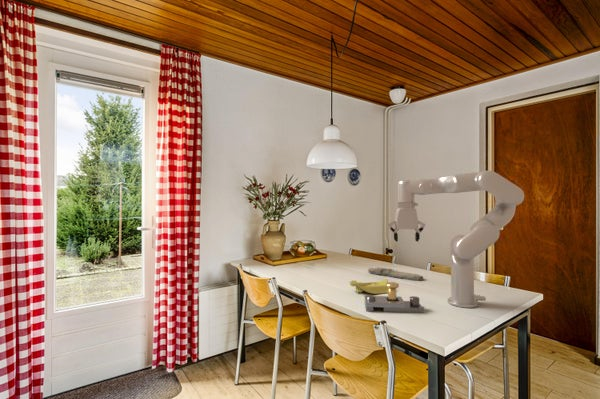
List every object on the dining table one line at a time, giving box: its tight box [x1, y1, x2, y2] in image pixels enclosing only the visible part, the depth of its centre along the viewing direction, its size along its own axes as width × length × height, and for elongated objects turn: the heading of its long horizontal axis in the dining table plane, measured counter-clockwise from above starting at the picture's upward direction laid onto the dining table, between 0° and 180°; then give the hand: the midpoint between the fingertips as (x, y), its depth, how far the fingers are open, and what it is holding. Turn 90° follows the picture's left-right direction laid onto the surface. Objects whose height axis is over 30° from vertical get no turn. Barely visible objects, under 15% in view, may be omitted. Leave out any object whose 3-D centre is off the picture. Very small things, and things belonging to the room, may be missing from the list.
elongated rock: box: [367, 266, 424, 282], centre depth 201 cm, size 35×5×10 cm
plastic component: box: [349, 279, 389, 295], centre depth 170 cm, size 20×7×10 cm
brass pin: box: [386, 281, 400, 301], centre depth 144 cm, size 6×6×11 cm
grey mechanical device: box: [364, 295, 424, 314], centre depth 144 cm, size 24×9×5 cm, turn 83°
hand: (406, 241), depth 156 cm, fingers open, 9 cm apart
